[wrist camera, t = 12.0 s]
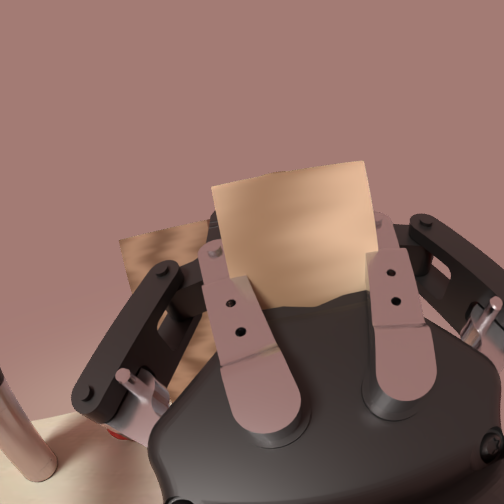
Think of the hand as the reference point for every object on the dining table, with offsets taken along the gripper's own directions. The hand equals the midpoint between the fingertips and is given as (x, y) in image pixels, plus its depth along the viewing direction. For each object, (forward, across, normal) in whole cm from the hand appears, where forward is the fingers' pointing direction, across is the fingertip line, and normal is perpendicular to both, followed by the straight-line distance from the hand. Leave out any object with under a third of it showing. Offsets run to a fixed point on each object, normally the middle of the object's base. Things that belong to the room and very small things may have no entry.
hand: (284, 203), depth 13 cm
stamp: (+2, 0, -6) cm, 6 cm away
